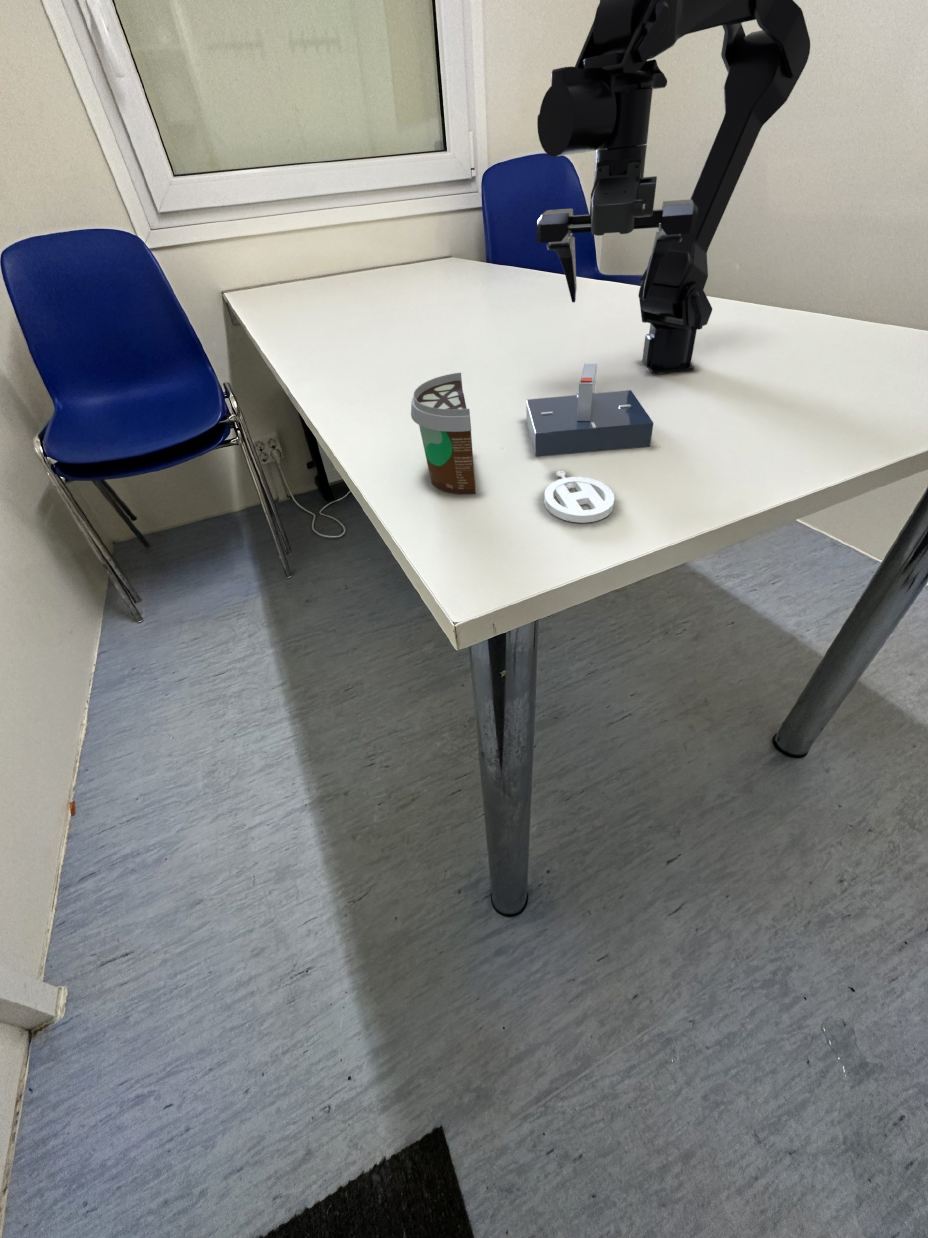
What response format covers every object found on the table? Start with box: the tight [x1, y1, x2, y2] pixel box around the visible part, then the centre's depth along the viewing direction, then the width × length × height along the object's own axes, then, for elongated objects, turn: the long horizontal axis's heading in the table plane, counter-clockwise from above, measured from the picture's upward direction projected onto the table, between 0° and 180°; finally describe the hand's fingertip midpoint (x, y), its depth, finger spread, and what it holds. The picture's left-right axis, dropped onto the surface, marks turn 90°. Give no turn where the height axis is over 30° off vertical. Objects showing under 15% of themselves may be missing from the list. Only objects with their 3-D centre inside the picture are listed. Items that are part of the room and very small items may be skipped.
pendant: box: [543, 470, 615, 524], centre depth 59 cm, size 7×11×1 cm, turn 12°
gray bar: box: [577, 362, 598, 421], centre depth 67 cm, size 7×2×5 cm, turn 166°
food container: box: [410, 371, 477, 495], centre depth 62 cm, size 12×6×10 cm, turn 5°
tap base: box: [525, 389, 654, 457], centre depth 70 cm, size 14×11×3 cm
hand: (608, 300), depth 73 cm, fingers open, 9 cm apart
